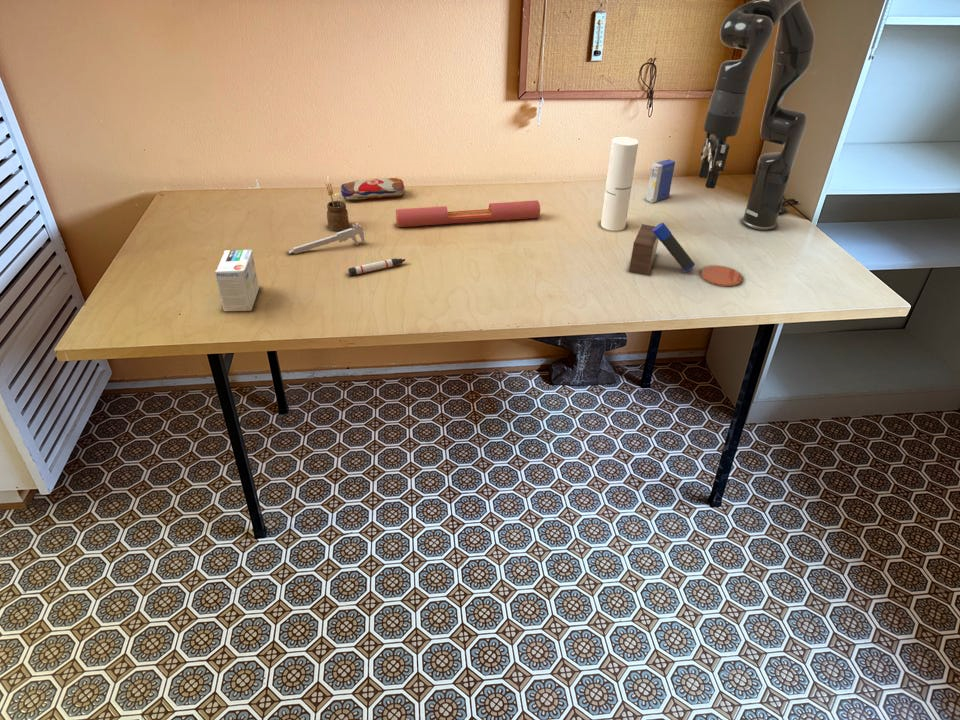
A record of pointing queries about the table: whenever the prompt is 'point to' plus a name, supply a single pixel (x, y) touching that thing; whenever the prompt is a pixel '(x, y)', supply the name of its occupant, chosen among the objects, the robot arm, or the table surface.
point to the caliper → (332, 239)
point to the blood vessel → (467, 214)
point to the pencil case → (372, 188)
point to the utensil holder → (336, 213)
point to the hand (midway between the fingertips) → (706, 182)
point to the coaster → (721, 276)
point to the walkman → (660, 180)
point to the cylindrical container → (619, 182)
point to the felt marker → (673, 247)
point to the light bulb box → (237, 280)
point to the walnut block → (644, 250)
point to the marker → (375, 266)
